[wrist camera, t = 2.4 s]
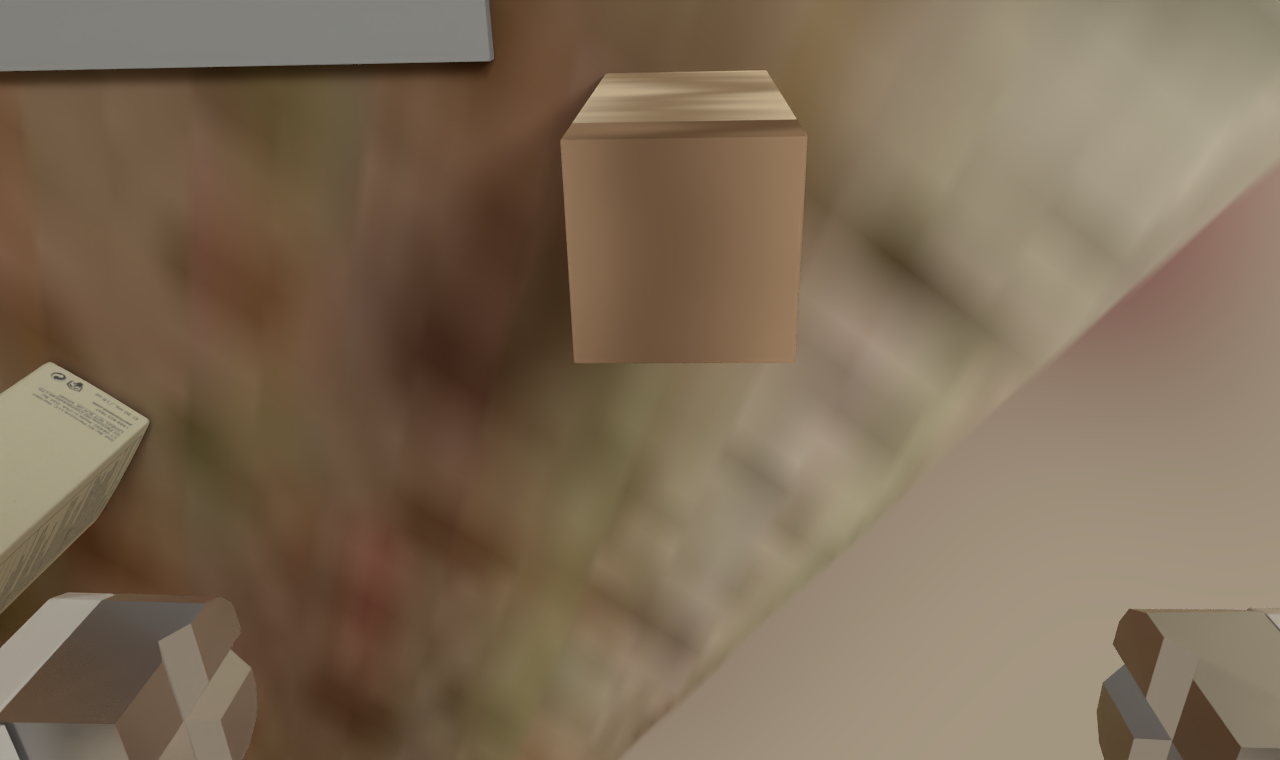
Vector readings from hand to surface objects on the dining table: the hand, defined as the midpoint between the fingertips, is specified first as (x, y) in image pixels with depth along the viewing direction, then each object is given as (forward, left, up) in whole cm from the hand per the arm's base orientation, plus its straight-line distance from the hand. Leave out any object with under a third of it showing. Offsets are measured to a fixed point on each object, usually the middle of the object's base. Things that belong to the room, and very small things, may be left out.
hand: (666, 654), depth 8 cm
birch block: (0, 0, -23) cm, 23 cm away
